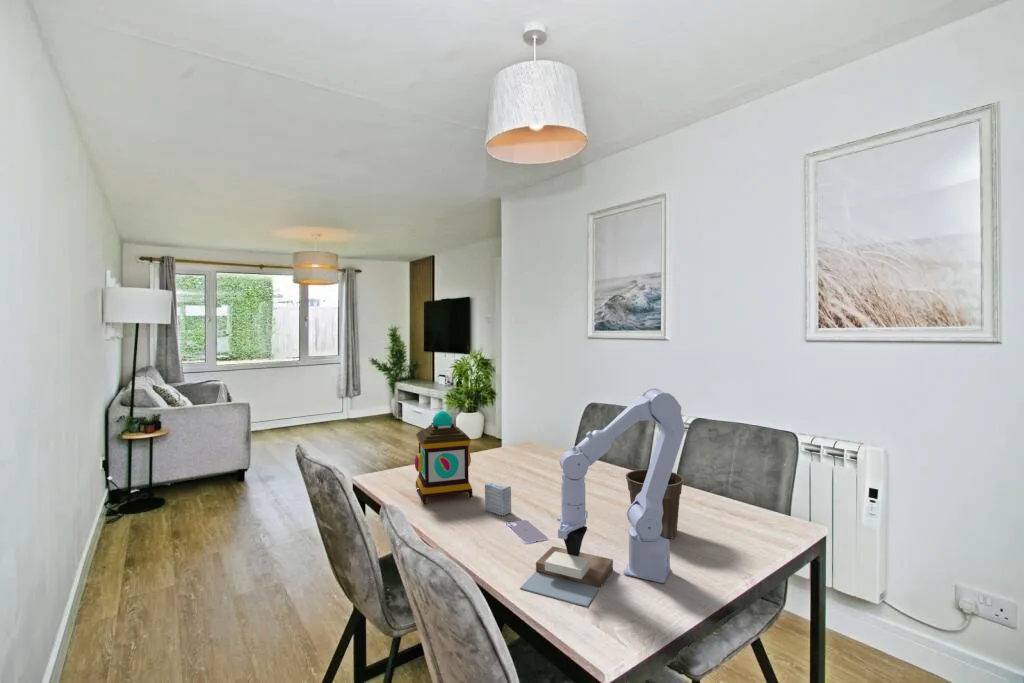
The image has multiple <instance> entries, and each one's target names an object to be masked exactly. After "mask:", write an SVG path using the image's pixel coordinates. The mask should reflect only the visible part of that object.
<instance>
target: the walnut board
mask: <svg viewBox="0 0 1024 683" xmlns="http://www.w3.org/2000/svg"><path fill="white" fill-rule="evenodd" d="M555 551H556V552H560V553H565V554H568V553H567V548H562V547H558V546H554V545H552V546H551V547H550V548H549V549H548V550H547V551H546V552H545V553H544V554H543V555H542V556H541V557H540V558H539V559H538V560H537V561H536V562H535V572H538V573H542V574H546V575H550V576H554V577H558V578H562V579H566V580H570V581H574V582H578V583H582V584H586V585H590V586H594V587H598V588H600V589H601V588H602V586H603V585H604V583H605V581H606V580H607V579H608V577H609V576H610V575H611V573H612V572H613V570H614V564H613V563H614V560H613V559H612V558H608V557H603V556H599V555H594V554H589V553H585V552H581V551H580V553H579V557H582V558H587V559H590V568H589V570H588V571H587V572H586V574H585V575H584V576H583V578H582V579H579V578H574V577H570V576H566V575H562V574H558V573H554V572H550V571H546V570H545V561H546V560H547V559H548V558H549V557H550V556H551V555H552V554H553V553H554V552H555Z"/></svg>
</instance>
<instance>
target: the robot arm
mask: <svg viewBox="0 0 1024 683" xmlns="http://www.w3.org/2000/svg"><path fill="white" fill-rule="evenodd" d="M653 420H654V422H655V423H656V425H657V427H658V429H659V430H660V432H659V436H658V439H657V442H656V444H655V448H654V451H653V454H652V456H651V459H650V463H649V465H648V468H647V469H648V472H647V475H646V478H645V481H644V484H643V487H642V490H641V492H640V493H639V494H637V495H636V498H635V500H634V502H633V503H632V504H631V503H630V505H629V506H628V508H627V511H626V516H627V519H628V521H629V523H630V524H631V525H630V527H629V531H628V565H626V568H625V570H624V571H623V575H625V576H630V577H634V578H635V577H636V578H639V579H643V580H647V581H653V582H656V583H660V584H665V582H666V580H667V578H668V575H669V573H670V571H671V564H670V563H671V562H670V561H671V555H670V554H671V545H670V539H665V538H663V537H661V536H660V535H661V533H662V516H663V505H662V500H663V497H664V494H665V491H666V488H667V485H668V482H669V479H670V476H671V473H672V472H673V469H674V466H675V463H676V460H677V458H678V457H677V456H678V453H679V450H680V449H681V445H682V441H683V438H684V435H685V432H686V431H685V430H686V429H685V425H684V419H683V416H682V405H681V404H680V403H679V402H678V400H677V399H676V398H675V396H673V395H672V394H670V393H668V392H664V391H662V390H660V389H658V388H649V389H647V390H645V392H643V394H642V395H639V396H637V397H636V398H634V400H633V401H632V402H631V403H630V404H629V405H628V406H627V407H626V408H624V410H623V411H622V412H620V413H619V414H618V415H617V416H616V417H615V418H614V419H613V420H612V421H611V422H610V423H609V424H608V425H607V426H605V427H604V428H603V429H595V430H593V431H592V432H591V431H590V430H589V431H588V432H587V433H586V434H585V435H586V437H585V438H584V439H583V440H581V441H580V442H578V444H577V445H572V446H571V450H566V451H565V452H564V453H562V455H561V458H560V460H559V466H560V467H561V469H562V471H561V473H562V474H561V479H562V481H561V482H560V483H561V515H559V516H558V517H557V518H556V521H557V522H560V523H559V528H558V530H557V539H562V540H563V541H564V542H563V543H564V544H565V549H567V553H568V554H569V555H574V556H578V557H579V553H580V552H581V548H582V543H583V540H584V536H585V535H586V533H587V531H588V527H587V526H586V525H587V520H588V516H589V515H588V513H589V512H588V510H587V509H586V482H585V476H586V475H587V473H588V470H589V467H590V466H592V465H593V464H594V463H596V462H597V461H598V460H599V459H600V458H601V457H603V455H605V454H606V453H608V451H610V450H611V449H612V442H613V441H614V440H615V439H616V438H618V437H619V436H620V435H622V434H623V433H624V432H626V431H627V430H628V429H629V428H631V427H632V426H633V425H635V424H636V423H637V422H639V421H640V422H642V421H653Z"/></svg>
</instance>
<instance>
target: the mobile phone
mask: <svg viewBox="0 0 1024 683" xmlns="http://www.w3.org/2000/svg"><path fill="white" fill-rule="evenodd" d="M504 527H506V528H507V529H508V530H509V531H510V532H511V533H512V534H513V535H514V534H515V535H516V536H517V537H518V538H519V540H520V542H522V544H524V543H525V544H524V545H529V543H530V544H534V543H533V542H535V543H537V542H536V541H540V542H544V541H543V540H545V541H548V536H546V534H544V533H543V532H542V531H541V530H539V529H538V528H537V527H536V525H533V524H532V523H531V522H530V521H529V520H527V519H523V520H522V519H521V520H517V521H511V522H507V523H505V524H504ZM515 535H514V536H515ZM516 536H515V537H516ZM517 537H516V538H517Z"/></svg>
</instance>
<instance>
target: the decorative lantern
mask: <svg viewBox="0 0 1024 683" xmlns="http://www.w3.org/2000/svg"><path fill="white" fill-rule="evenodd" d="M415 436H416V439H417V441H418V453H417V454H416V455H415V457H414V467H415V470H416V472H418V475H417V477H416V480H415V488H416V489H417V488H419V490H418V491H419V492H420V494H421V501H422V504H423V503H426V504H427V501H428V500H427V499H428V497H430V496H431V497H432V496H440V495H448V494H459V493H464V492H465V493H466V494H467V498H468V497H469V498H471V497H473V488H472V485H471V483H470V480H469V479H470V478H469V467H470V466H471V462H472V458H471V453H470V450H469V446H470V444H471V441H472V439H471V437H469V435H468V434H466V433H465V432H464V431H463V430H462V429H461V428H460V427H458V426H456V425H455V424H454V423H453V417H452V415H451V414H450V413H449V412H448V411H446V410H440V411H438V412H437V413H436V414H434V416H433V418H432V422H431V424H430V425H428V427H426V428H421V429H420V430H419V431H417V433H416V434H415ZM469 498H468V499H469ZM471 499H472V498H471Z"/></svg>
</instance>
